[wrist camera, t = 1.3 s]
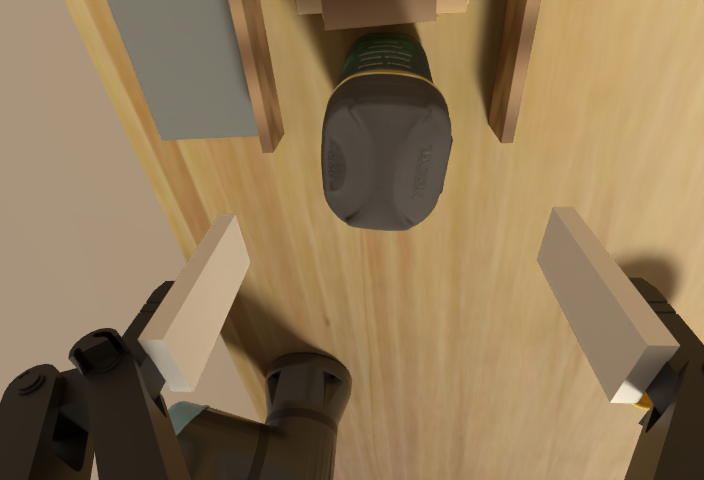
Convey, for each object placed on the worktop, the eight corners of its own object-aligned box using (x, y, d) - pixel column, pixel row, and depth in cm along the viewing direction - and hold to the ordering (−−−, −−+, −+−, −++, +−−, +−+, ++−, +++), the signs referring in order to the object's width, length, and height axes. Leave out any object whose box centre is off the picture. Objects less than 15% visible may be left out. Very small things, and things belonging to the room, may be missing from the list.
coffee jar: (342, 29, 33) (311, 82, 18) (431, 33, 33) (474, 90, 18) (341, 134, 39) (317, 240, 24) (417, 138, 38) (440, 247, 24)
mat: (261, 134, 39) (260, 135, 39) (163, 138, 40) (161, 140, 40) (225, -28, 31) (223, -28, 31) (103, -17, 32) (100, -17, 32)
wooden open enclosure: (498, 123, 37) (512, 142, 33) (275, 133, 39) (262, 153, 35) (534, -89, 27) (560, -98, 23) (236, -60, 30) (213, -64, 26)
